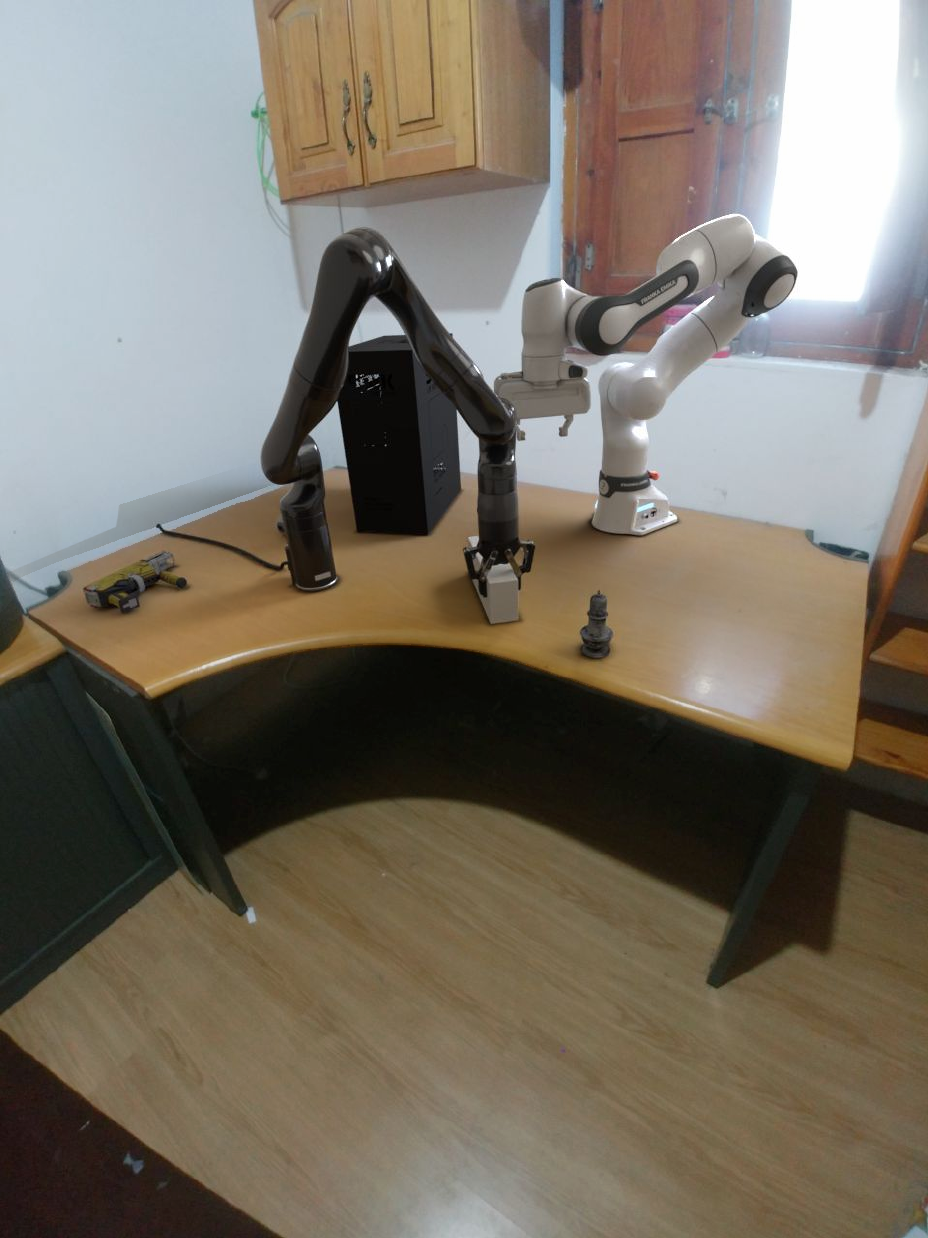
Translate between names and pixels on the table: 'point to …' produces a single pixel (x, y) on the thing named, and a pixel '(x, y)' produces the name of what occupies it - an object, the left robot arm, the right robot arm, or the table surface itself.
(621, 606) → the table surface
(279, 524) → the eyeball
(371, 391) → the cardboard box
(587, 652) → the dark grey chess piece
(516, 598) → the bar
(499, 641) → the table surface
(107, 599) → the toy gun
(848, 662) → the table surface
